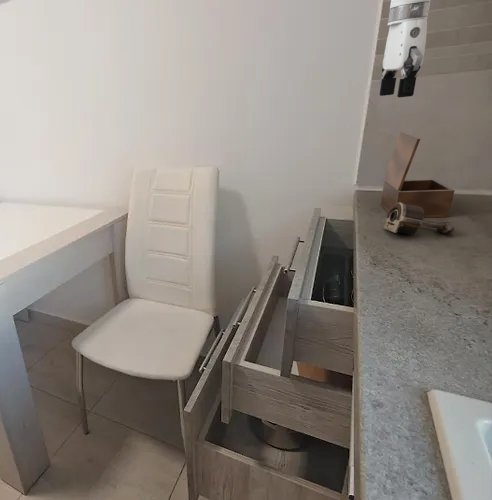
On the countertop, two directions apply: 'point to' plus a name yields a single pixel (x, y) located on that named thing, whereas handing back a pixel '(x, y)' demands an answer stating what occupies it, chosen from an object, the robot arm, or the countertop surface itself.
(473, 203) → the countertop surface
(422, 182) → the keepsake box
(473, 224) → the countertop surface
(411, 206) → the security camera
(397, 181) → the lid
